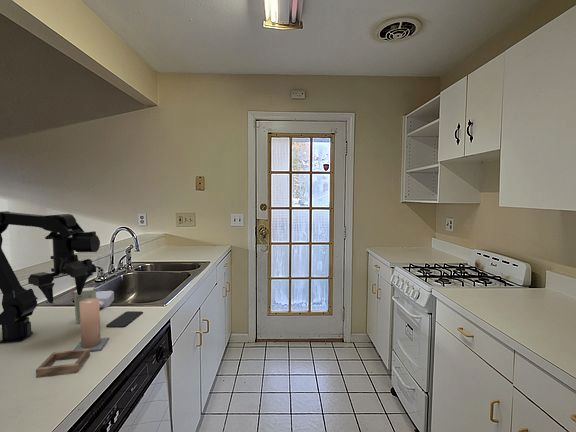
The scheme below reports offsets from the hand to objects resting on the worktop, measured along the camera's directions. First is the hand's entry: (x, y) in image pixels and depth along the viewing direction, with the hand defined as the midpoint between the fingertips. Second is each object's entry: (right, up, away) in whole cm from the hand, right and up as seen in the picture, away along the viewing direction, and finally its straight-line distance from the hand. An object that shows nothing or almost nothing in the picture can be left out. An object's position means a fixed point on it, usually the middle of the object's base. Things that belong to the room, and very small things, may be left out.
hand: (65, 298), depth 105 cm
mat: (+12, -13, -5) cm, 19 cm away
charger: (-7, -12, +30) cm, 33 cm away
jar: (+12, -13, -5) cm, 18 cm away
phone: (+12, -13, +16) cm, 23 cm away
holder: (+12, -14, -17) cm, 25 cm away
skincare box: (-2, -12, +15) cm, 19 cm away
